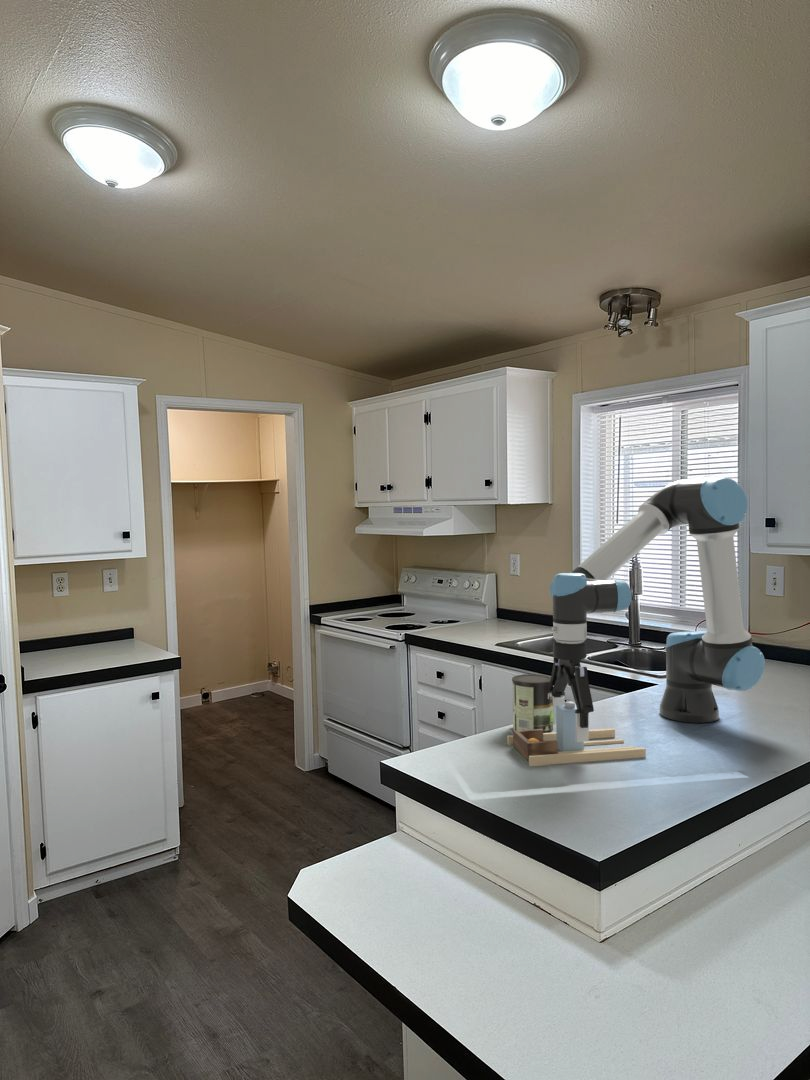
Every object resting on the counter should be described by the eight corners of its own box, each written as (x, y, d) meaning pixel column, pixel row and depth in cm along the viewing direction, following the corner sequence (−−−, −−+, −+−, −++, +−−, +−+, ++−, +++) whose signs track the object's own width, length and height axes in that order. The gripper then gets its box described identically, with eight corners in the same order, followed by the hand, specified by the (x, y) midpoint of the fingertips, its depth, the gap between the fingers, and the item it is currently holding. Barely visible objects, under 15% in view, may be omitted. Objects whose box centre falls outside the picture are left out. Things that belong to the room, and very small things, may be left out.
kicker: (576, 746, 170) (576, 699, 170) (583, 752, 166) (583, 704, 166) (556, 748, 169) (556, 701, 169) (563, 753, 165) (562, 705, 165)
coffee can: (553, 728, 189) (553, 674, 189) (553, 740, 179) (553, 683, 178) (513, 726, 191) (513, 673, 191) (511, 738, 181) (510, 682, 180)
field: (613, 740, 178) (613, 728, 178) (645, 762, 162) (645, 748, 162) (507, 747, 173) (507, 735, 173) (530, 771, 158) (530, 757, 158)
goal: (541, 745, 172) (541, 728, 172) (557, 759, 162) (557, 741, 162) (513, 747, 170) (513, 730, 170) (527, 761, 161) (527, 743, 161)
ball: (530, 754, 168) (540, 743, 168) (535, 759, 164) (546, 748, 165) (520, 743, 167) (530, 732, 168) (525, 748, 164) (536, 737, 164)
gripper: (535, 632, 178) (535, 718, 179) (576, 651, 154) (576, 750, 155) (564, 631, 180) (564, 716, 180) (609, 649, 155) (609, 748, 156)
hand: (570, 732), depth 168 cm, fingers open, 13 cm apart
